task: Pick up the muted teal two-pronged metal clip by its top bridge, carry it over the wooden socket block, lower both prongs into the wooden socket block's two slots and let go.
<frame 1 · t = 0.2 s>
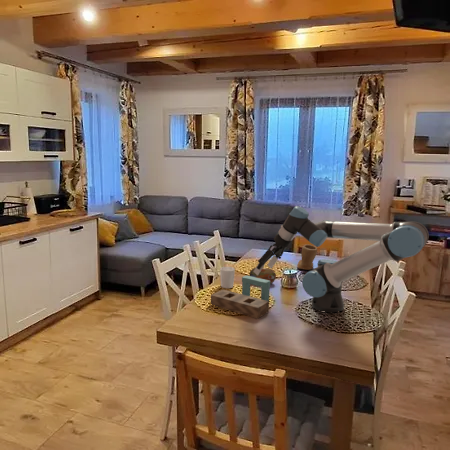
hand: (262, 270, 197), 16 cm above the table, tool tilted 30°, fingers open, 13 cm apart
stone cup: (306, 268, 259), on the table
clip: (255, 299, 203), on the table
white cup: (227, 286, 221), on the table
wooden socket block: (239, 308, 191), on the table
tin: (262, 282, 229), on the table
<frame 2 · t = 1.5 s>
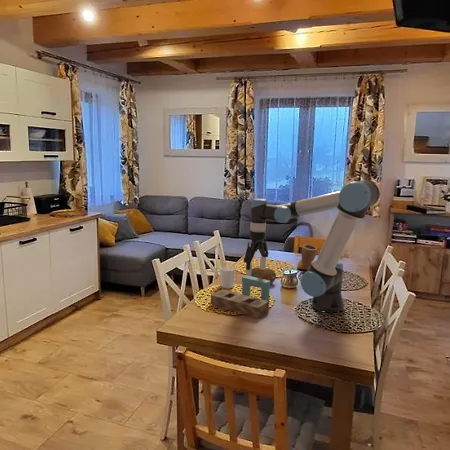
hand: (255, 272, 201), 14 cm above the table, tool pointing down, fingers open, 13 cm apart
nothing on the table moved.
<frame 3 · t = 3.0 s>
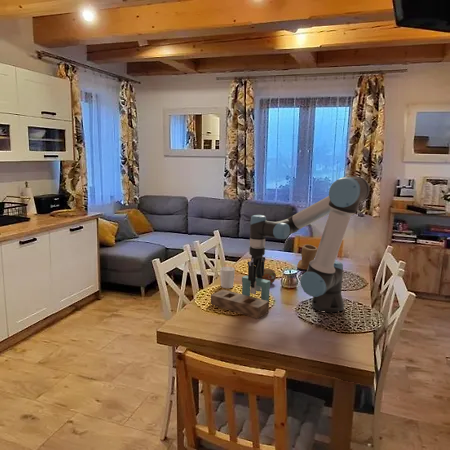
hand: (255, 292, 202), 4 cm above the table, tool pointing down, fingers closed on clip, 4 cm apart
clip: (255, 299, 203), on the table, touching gripper
everything else where it was.
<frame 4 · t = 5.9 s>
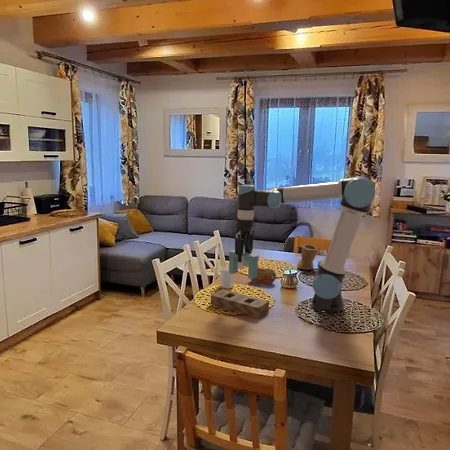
hand: (243, 267, 190), 19 cm above the table, tool pointing down, fingers closed on clip, 4 cm apart
clip: (242, 274, 191), point 15 cm above the table, touching gripper
everything else where it was.
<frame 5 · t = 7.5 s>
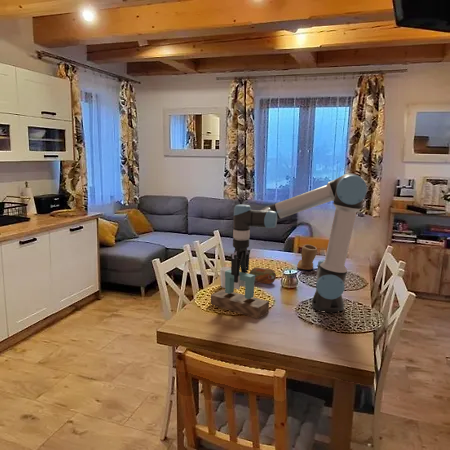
hand: (239, 287, 189), 10 cm above the table, tool pointing down, fingers closed on clip, 4 cm apart
clip: (239, 294, 190), point 7 cm above the table, touching gripper
everything else where it was.
when the fingers open (6 cm above the table, at t = 8.9 s): clip drops 1 cm, resting on wooden socket block.
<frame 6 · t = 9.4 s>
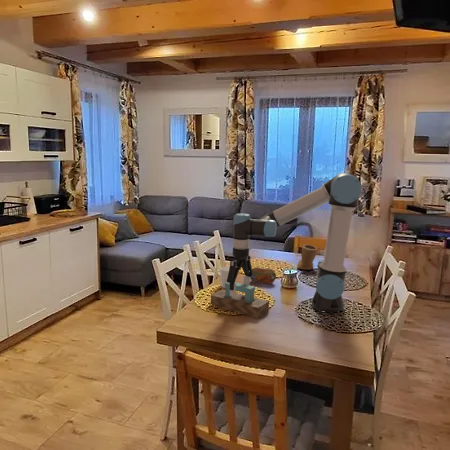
hand: (239, 292, 190), 8 cm above the table, tool pointing down, fingers open, 11 cm apart
clip: (239, 306, 191), point 1 cm above the table, touching wooden socket block
everything else where it was.
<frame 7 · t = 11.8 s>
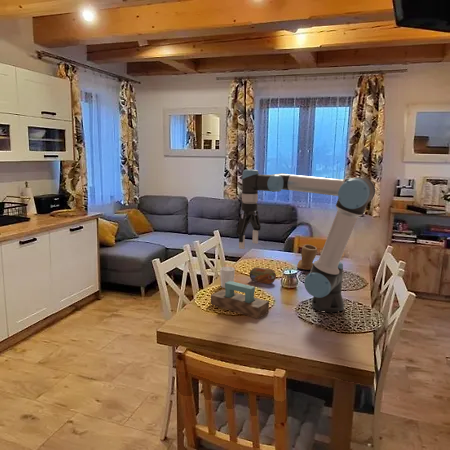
hand: (248, 245, 196), 28 cm above the table, tool pointing down, fingers open, 13 cm apart
nothing on the table moved.
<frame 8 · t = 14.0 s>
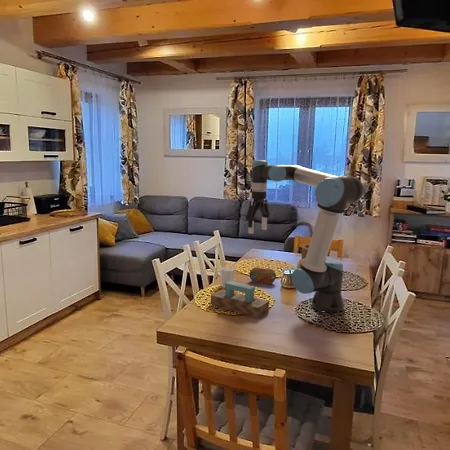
hand: (257, 231, 211), 32 cm above the table, tool pointing down, fingers open, 13 cm apart
nothing on the table moved.
at the end: clip 0.0 cm off-centre on the wooden socket block, point 1.0 cm above the wooden socket block's base; clip tilted 0°; the gripper is holding nothing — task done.
